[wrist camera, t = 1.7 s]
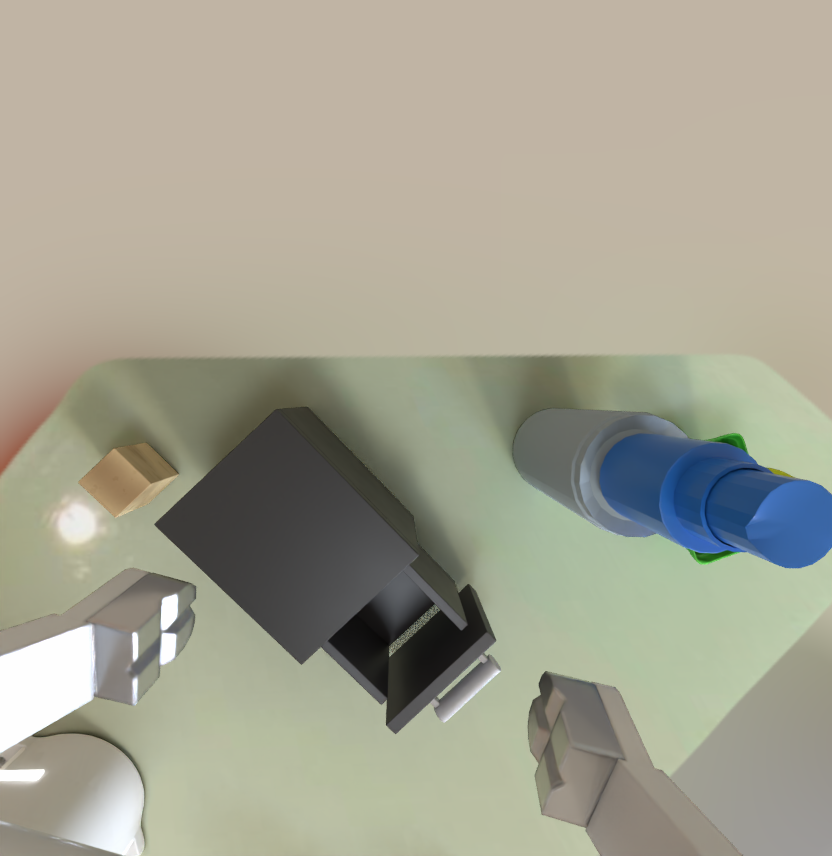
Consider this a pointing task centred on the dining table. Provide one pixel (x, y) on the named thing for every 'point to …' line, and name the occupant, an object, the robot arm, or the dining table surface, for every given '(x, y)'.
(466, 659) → the drawer
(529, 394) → the dining table surface
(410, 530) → the charcoal cube with tab
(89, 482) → the block
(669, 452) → the spray bottle
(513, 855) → the dining table surface
